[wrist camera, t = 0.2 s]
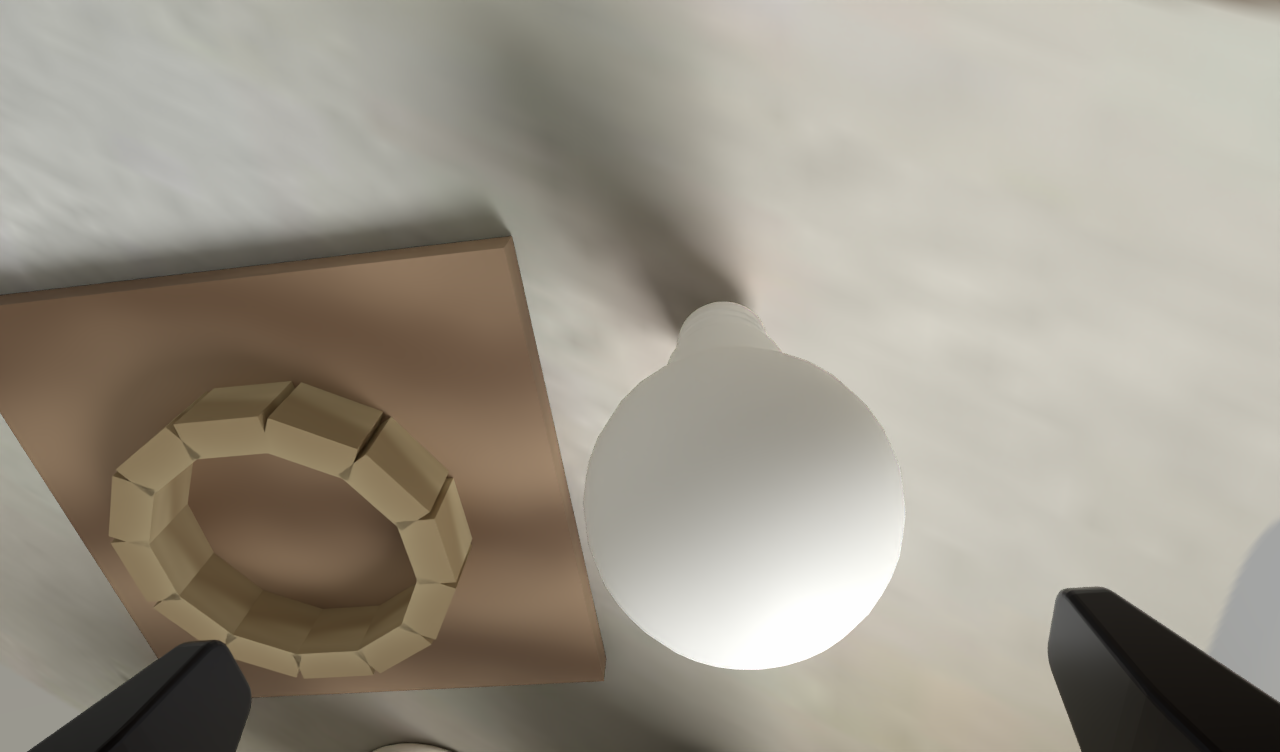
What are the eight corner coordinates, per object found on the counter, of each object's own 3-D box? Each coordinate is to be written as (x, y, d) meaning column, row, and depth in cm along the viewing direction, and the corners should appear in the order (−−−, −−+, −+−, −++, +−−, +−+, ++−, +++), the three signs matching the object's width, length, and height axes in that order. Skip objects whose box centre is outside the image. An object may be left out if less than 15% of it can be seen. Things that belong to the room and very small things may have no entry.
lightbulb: (598, 395, 23) (536, 708, 13) (641, 205, 20) (603, 425, 10) (788, 437, 23) (866, 771, 13) (858, 256, 20) (1023, 516, 10)
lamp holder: (606, 659, 28) (598, 729, 26) (199, 679, 30) (153, 747, 27) (512, 235, 20) (486, 274, 18) (-35, 299, 22) (-132, 342, 19)
